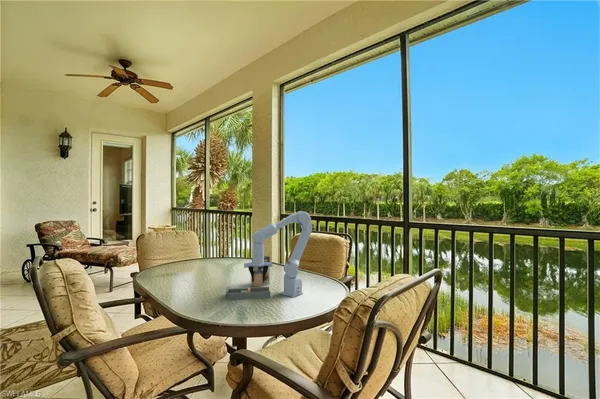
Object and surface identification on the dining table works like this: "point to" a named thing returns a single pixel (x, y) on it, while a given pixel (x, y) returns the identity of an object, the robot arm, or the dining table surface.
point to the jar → (258, 278)
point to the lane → (248, 293)
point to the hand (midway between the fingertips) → (258, 280)
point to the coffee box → (267, 276)
